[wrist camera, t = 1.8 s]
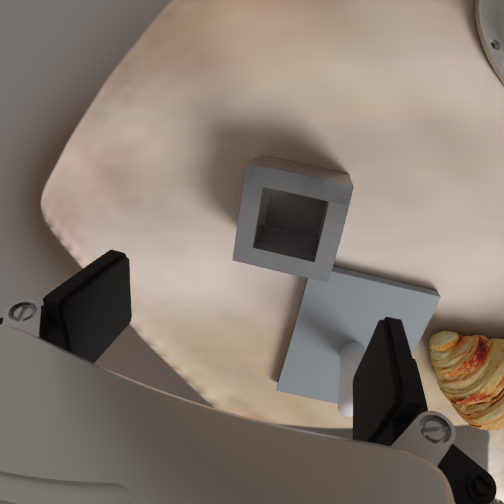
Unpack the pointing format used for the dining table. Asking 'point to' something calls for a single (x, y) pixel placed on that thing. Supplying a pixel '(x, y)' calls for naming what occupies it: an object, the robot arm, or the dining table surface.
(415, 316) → the keeper
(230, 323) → the dining table surface
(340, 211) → the grey hollow block
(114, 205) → the dining table surface
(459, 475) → the robot arm
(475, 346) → the croissant
